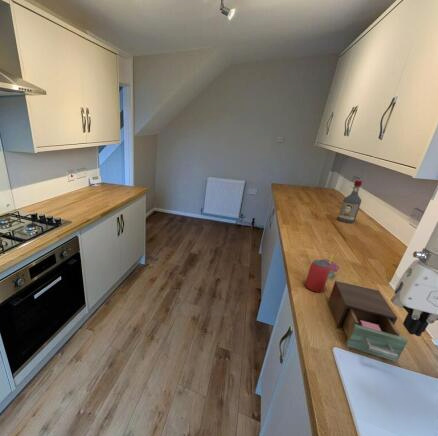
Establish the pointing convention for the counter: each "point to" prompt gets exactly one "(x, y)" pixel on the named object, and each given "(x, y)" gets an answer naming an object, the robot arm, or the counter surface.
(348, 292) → the cabinet
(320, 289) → the beer can
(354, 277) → the counter surface
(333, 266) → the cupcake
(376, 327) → the block
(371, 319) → the drawer
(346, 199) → the liquor
